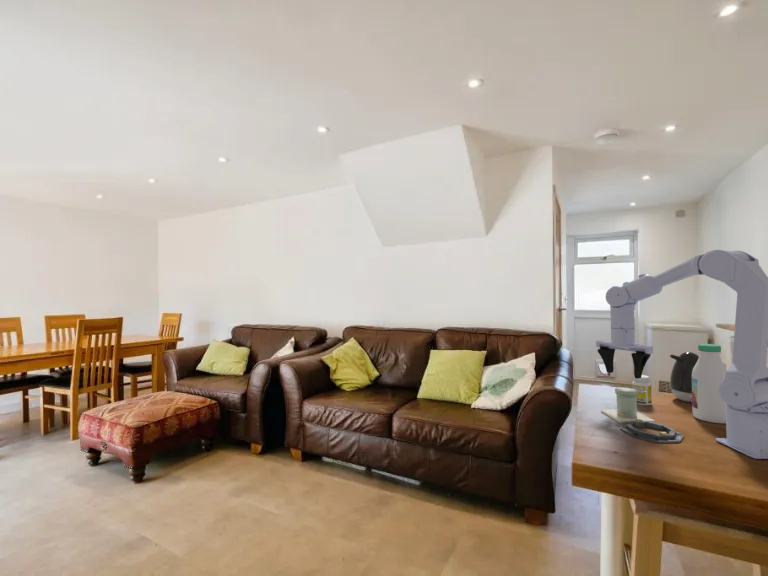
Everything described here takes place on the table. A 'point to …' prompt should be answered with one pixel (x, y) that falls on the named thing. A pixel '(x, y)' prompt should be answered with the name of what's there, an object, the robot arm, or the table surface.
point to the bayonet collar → (658, 438)
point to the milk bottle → (708, 385)
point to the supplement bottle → (642, 390)
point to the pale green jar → (626, 402)
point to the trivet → (622, 420)
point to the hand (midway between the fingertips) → (623, 375)
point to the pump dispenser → (683, 375)
